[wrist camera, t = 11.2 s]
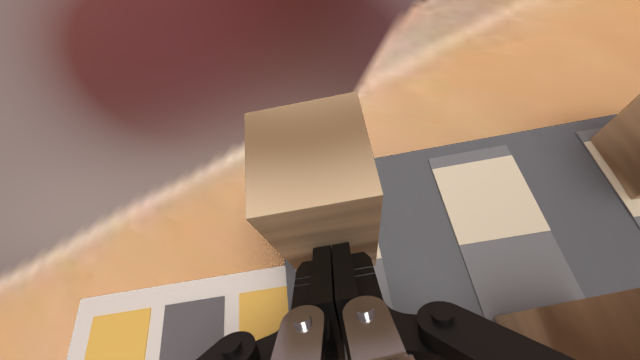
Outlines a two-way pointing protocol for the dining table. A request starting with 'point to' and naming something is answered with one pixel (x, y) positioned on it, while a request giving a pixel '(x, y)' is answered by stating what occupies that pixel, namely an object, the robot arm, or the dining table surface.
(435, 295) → the toggle board
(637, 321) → the block
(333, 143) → the left toggle
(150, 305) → the card
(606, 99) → the dining table surface
